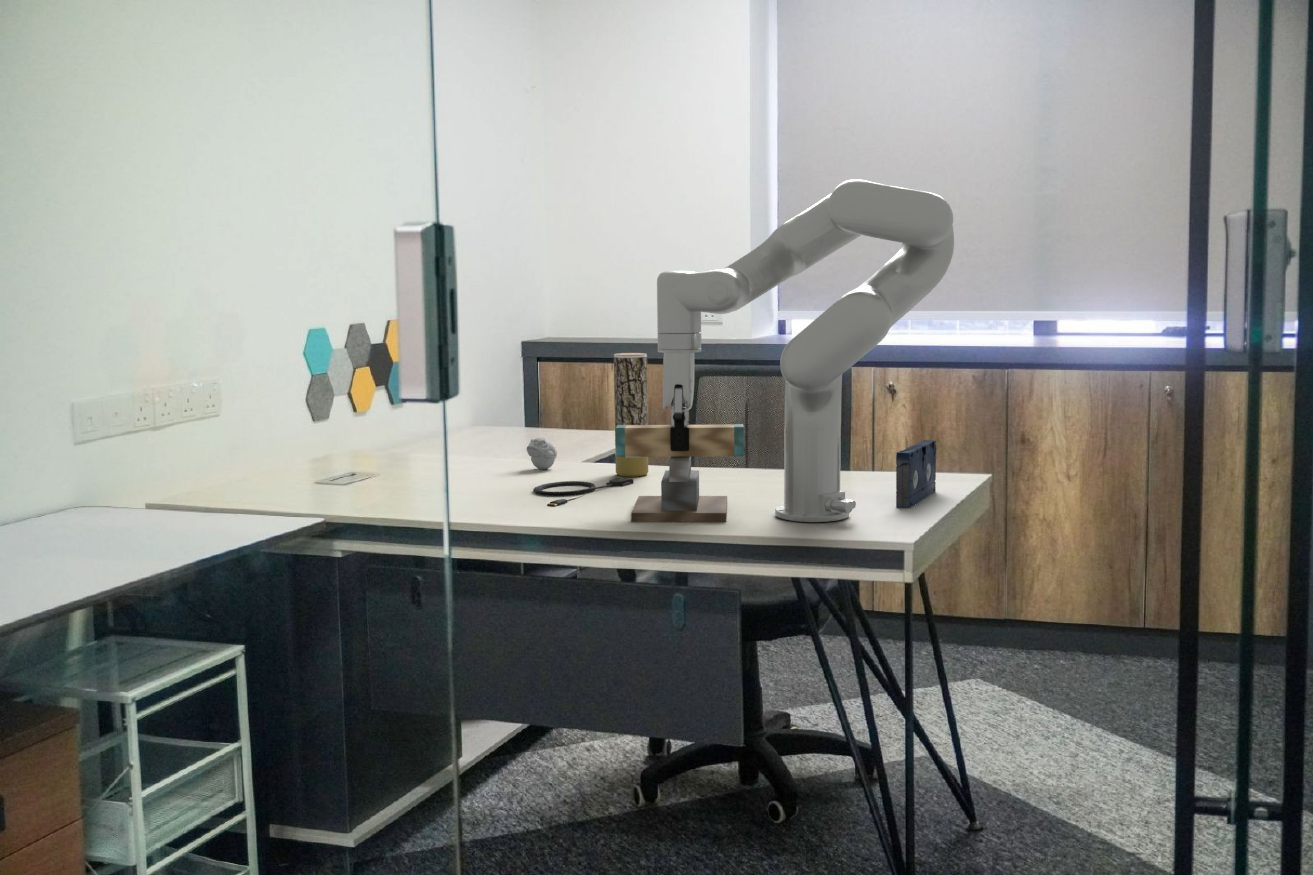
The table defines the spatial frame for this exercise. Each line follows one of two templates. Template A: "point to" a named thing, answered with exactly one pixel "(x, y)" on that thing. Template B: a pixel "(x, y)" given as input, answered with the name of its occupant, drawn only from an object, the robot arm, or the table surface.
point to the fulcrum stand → (680, 498)
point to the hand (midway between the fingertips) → (680, 447)
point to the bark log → (630, 405)
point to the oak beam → (700, 441)
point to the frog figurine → (542, 453)
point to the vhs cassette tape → (915, 473)
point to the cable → (592, 487)
